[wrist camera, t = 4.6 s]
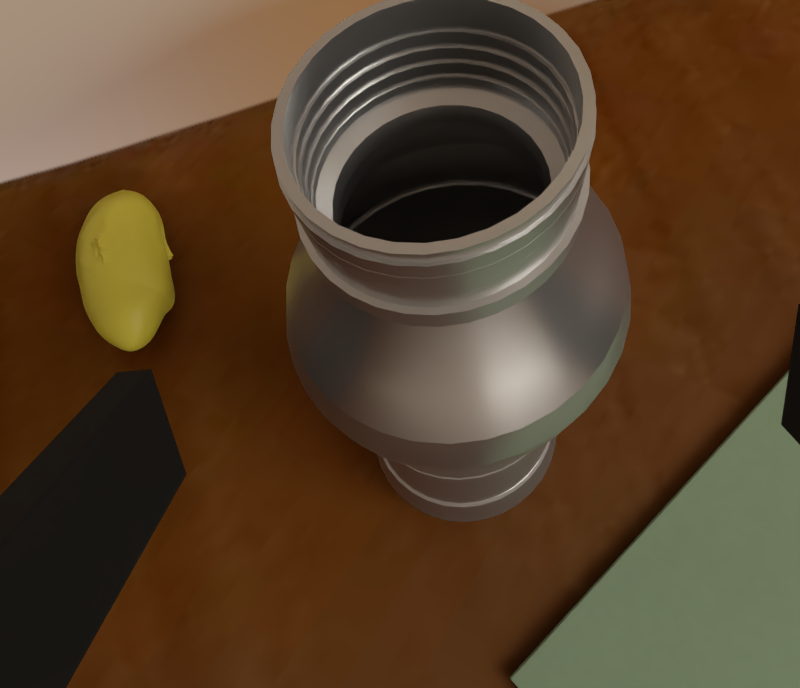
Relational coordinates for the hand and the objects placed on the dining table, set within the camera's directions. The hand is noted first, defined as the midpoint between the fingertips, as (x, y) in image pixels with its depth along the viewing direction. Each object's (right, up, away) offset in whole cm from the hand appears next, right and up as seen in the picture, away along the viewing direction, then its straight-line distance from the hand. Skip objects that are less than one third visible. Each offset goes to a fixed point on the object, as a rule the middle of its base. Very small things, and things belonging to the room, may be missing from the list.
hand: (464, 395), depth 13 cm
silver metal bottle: (+1, -3, +13) cm, 13 cm away
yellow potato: (-13, +4, +17) cm, 22 cm away
